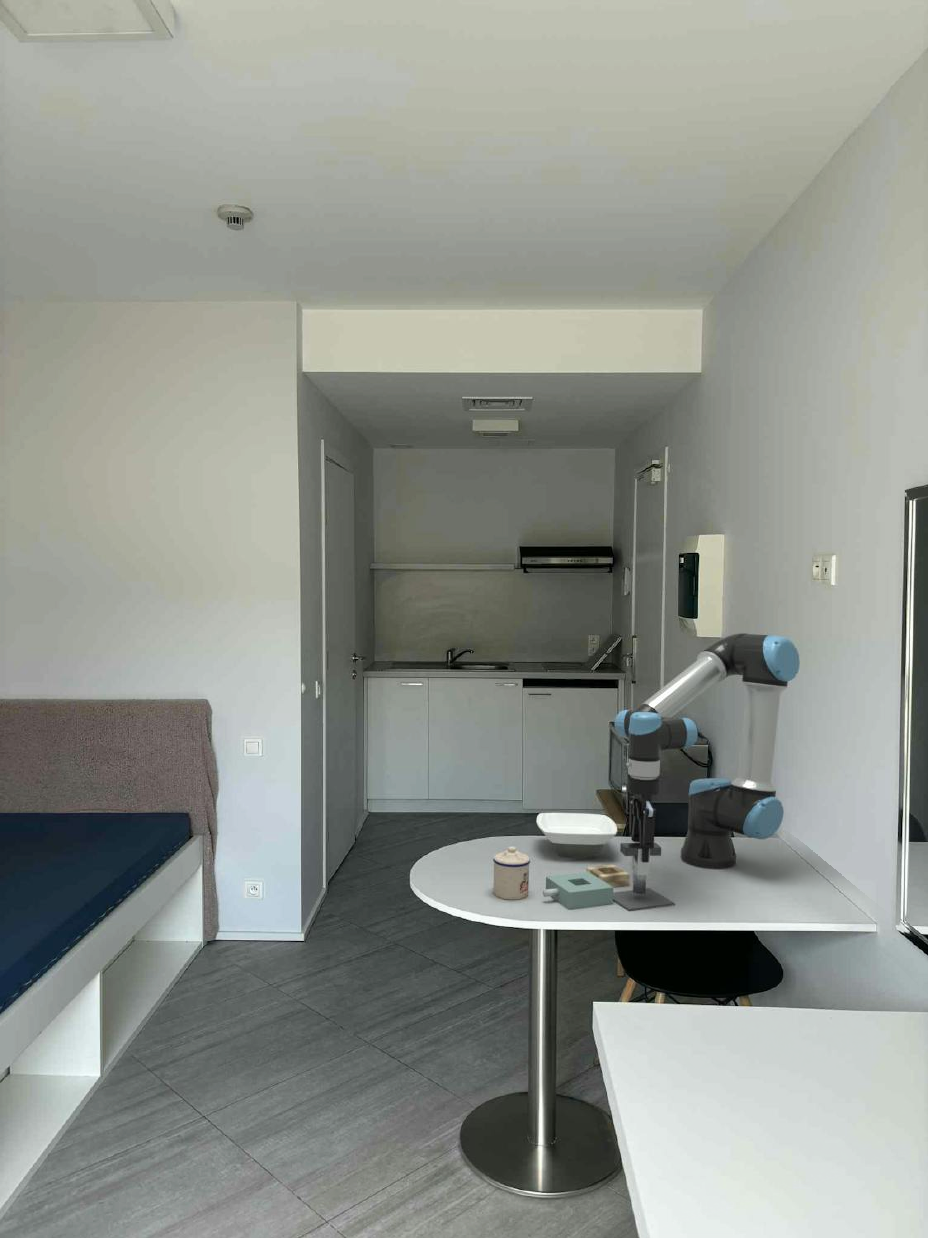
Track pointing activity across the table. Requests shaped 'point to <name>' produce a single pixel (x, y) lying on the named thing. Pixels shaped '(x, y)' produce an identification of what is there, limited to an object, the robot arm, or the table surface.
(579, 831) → the bowl
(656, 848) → the block
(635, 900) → the mat
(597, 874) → the beige square frame
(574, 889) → the block
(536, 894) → the table surface
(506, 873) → the teacup with lid
